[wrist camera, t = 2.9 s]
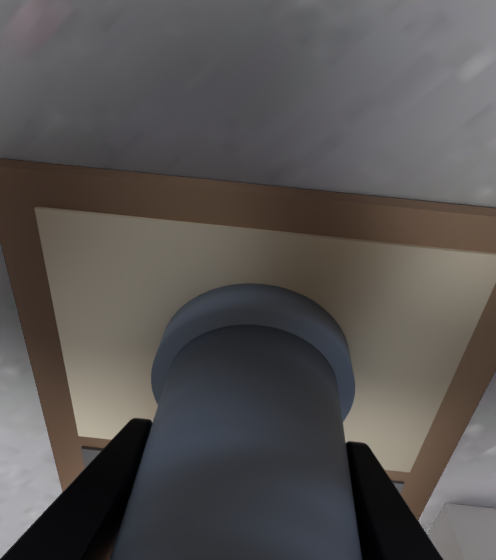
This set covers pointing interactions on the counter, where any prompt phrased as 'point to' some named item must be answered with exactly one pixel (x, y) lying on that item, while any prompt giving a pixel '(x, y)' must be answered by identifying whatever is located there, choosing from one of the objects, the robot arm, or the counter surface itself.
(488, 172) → the counter surface
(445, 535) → the white die
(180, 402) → the pawn
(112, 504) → the robot arm
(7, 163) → the game board
